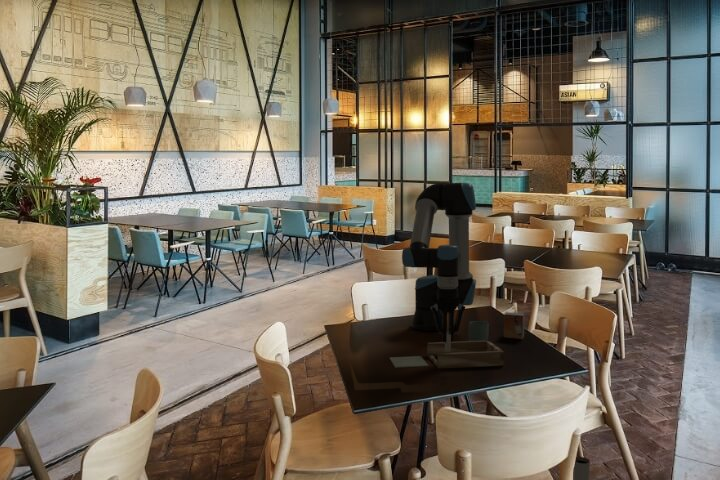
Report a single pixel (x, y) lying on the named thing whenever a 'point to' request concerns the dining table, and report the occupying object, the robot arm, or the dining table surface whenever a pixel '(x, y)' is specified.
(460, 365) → the wooden tray
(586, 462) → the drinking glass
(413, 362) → the sage tile
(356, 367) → the dining table surface
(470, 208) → the robot arm
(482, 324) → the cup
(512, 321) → the small box
